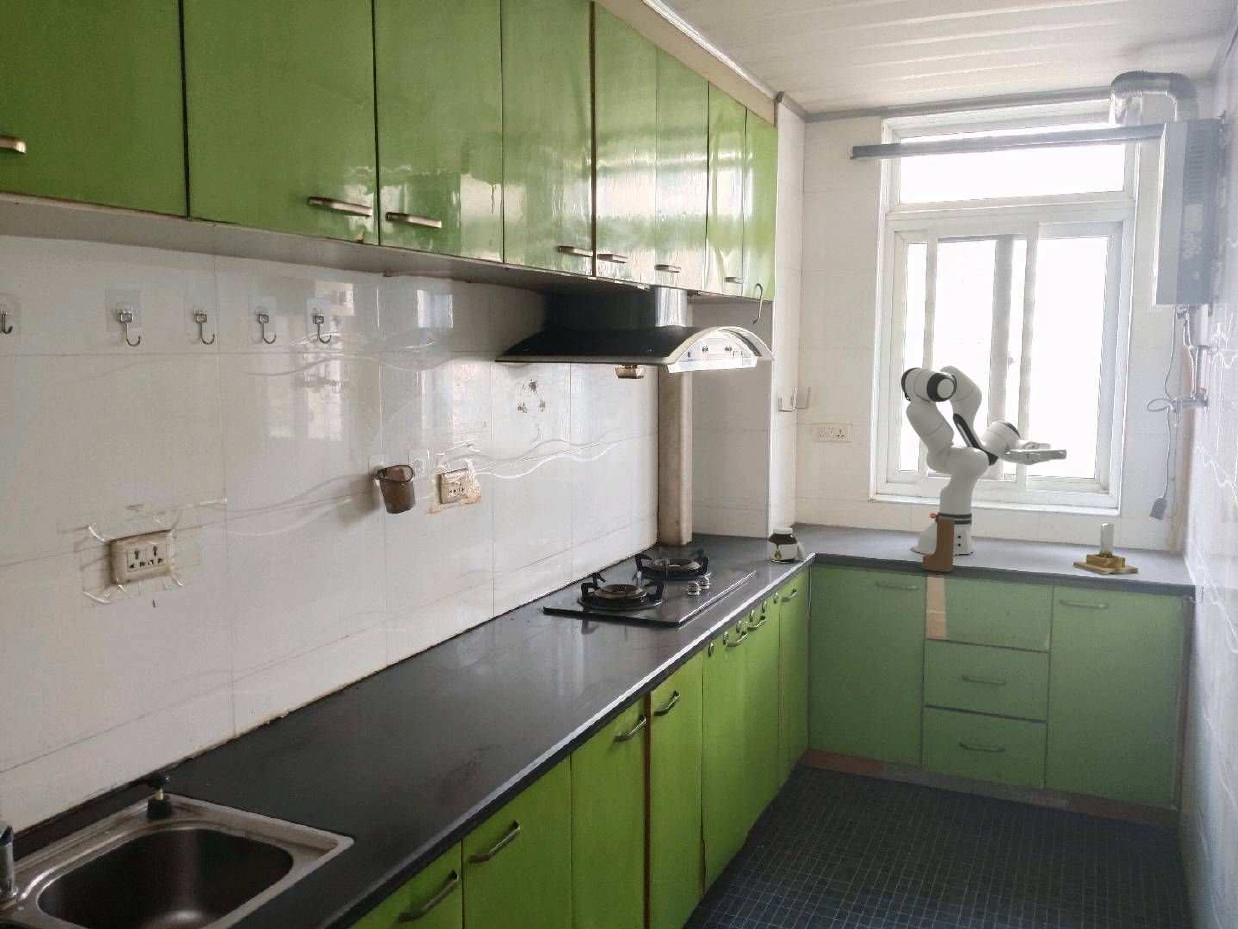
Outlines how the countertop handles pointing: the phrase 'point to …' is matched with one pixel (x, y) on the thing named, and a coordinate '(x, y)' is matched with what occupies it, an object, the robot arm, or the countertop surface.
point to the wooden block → (942, 547)
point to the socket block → (1105, 564)
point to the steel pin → (1106, 540)
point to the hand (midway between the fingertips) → (1052, 456)
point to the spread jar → (784, 546)
